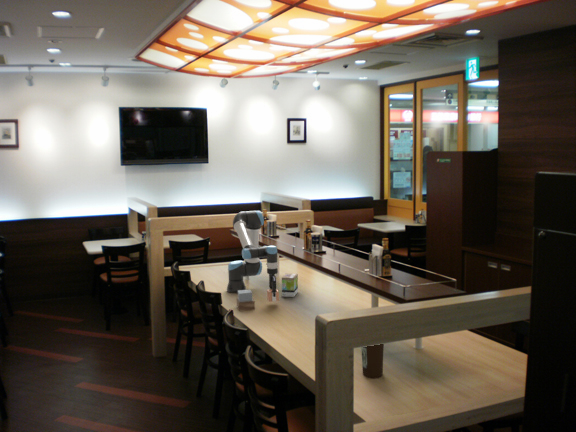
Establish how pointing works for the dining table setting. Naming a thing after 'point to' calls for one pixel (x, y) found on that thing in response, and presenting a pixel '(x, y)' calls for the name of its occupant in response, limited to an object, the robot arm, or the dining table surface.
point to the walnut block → (246, 305)
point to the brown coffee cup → (372, 361)
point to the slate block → (244, 295)
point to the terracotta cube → (269, 295)
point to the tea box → (289, 285)
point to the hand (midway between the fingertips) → (273, 299)
